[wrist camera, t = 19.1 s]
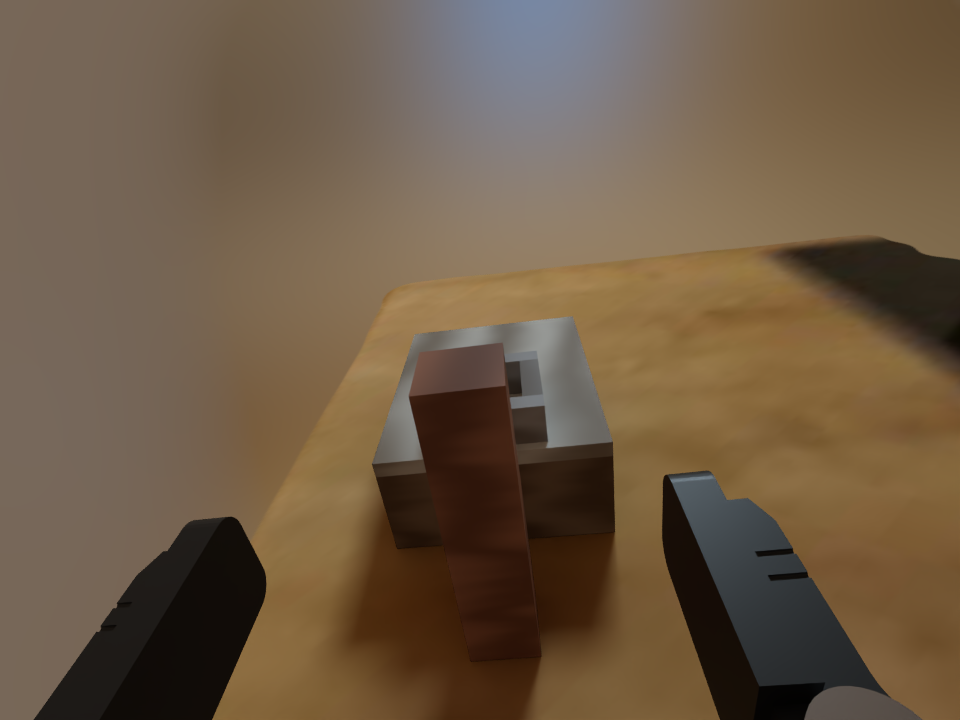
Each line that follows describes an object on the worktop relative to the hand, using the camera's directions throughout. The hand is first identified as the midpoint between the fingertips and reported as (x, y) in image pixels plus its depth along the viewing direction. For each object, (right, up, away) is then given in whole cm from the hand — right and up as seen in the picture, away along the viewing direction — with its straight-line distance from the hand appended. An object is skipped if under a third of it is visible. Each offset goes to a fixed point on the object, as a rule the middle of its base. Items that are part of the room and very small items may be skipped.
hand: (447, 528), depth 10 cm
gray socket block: (+2, -4, +31) cm, 32 cm away
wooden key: (+2, -11, +18) cm, 21 cm away
